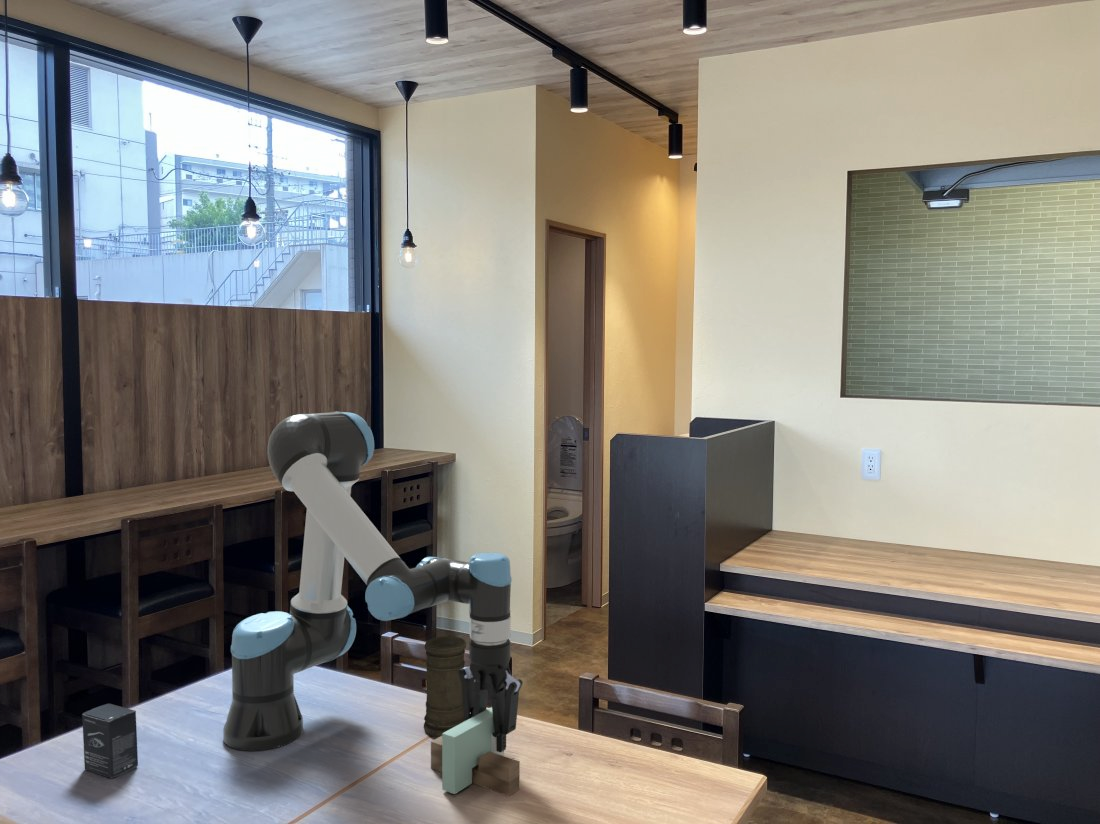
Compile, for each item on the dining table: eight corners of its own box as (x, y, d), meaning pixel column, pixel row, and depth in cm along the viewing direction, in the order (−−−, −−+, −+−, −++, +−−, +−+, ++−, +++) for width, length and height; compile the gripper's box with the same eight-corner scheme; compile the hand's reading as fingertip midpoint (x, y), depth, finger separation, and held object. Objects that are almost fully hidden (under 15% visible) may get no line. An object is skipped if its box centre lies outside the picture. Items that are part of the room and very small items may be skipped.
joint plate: (454, 794, 145) (454, 737, 144) (442, 789, 146) (442, 733, 146) (503, 762, 156) (503, 710, 156) (491, 758, 158) (492, 706, 158)
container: (460, 740, 167) (460, 651, 166) (417, 735, 169) (417, 647, 168) (473, 721, 176) (473, 636, 175) (432, 717, 178) (432, 633, 177)
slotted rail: (430, 768, 155) (430, 741, 155) (441, 761, 158) (441, 735, 157) (509, 796, 145) (509, 768, 145) (519, 789, 148) (519, 761, 147)
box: (138, 767, 155) (137, 709, 154) (110, 780, 150) (109, 720, 149) (111, 757, 159) (110, 701, 158) (82, 769, 154) (81, 712, 153)
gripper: (443, 636, 155) (443, 760, 156) (512, 653, 146) (512, 785, 148) (469, 626, 161) (469, 746, 163) (537, 641, 153) (536, 768, 154)
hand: (489, 764), depth 155 cm, fingers closed on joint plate, 3 cm apart
